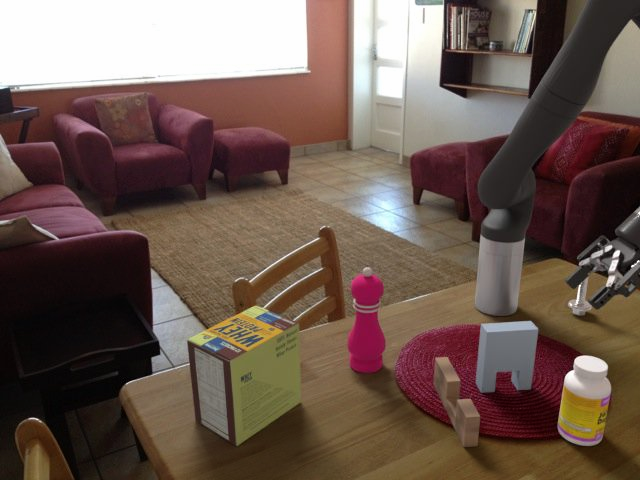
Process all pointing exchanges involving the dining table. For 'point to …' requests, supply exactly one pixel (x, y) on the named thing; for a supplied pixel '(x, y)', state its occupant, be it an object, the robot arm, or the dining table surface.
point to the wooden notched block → (456, 403)
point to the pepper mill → (366, 324)
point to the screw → (580, 300)
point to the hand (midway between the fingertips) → (580, 295)
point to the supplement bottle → (585, 402)
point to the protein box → (245, 373)
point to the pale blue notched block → (506, 354)
